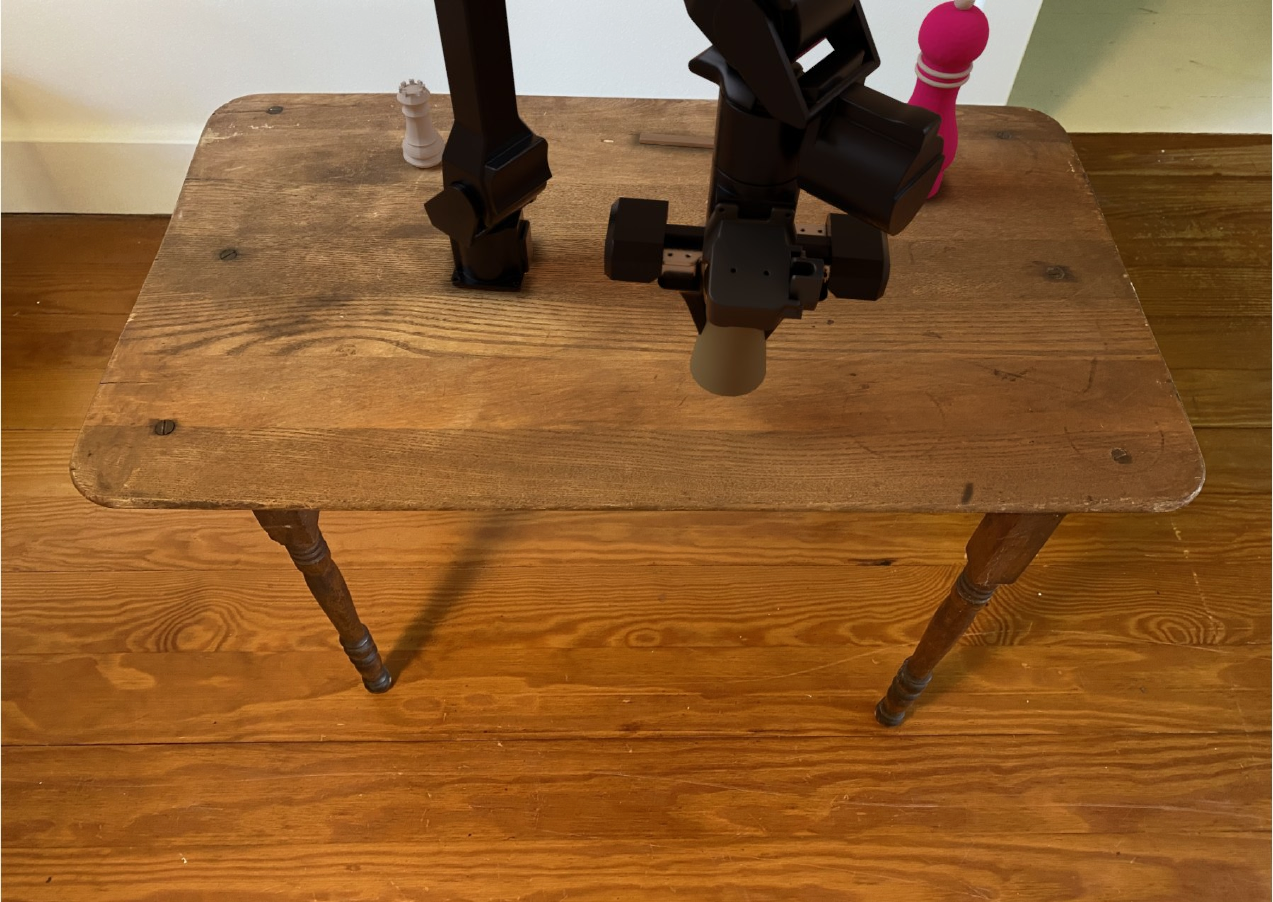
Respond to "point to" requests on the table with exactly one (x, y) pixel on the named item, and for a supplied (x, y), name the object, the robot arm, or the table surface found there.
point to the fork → (676, 140)
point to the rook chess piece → (419, 126)
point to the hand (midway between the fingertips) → (732, 333)
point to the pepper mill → (947, 65)
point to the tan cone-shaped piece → (728, 358)
